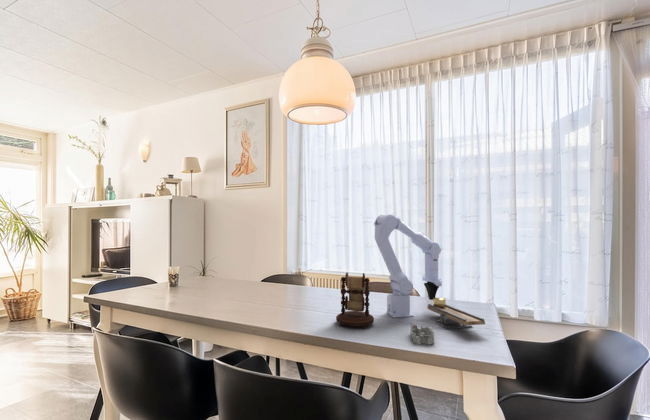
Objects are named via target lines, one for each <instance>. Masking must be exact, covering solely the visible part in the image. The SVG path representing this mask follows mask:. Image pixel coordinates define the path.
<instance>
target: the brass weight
mask: <svg viewBox="0 0 650 420" xmlns="http://www.w3.org/2000/svg"><path fill="white" fill-rule="evenodd" d="M446 300H447V299H446V298H444V297H435V298H433V300H432V305H433V306H435V307H438V308H446V305H447V303H446Z"/></svg>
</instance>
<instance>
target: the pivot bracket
mask: <svg viewBox="0 0 650 420" xmlns="http://www.w3.org/2000/svg"><path fill="white" fill-rule="evenodd" d="M439 316H440V317H439V319H435V320H434V322H435V323H436V324H437V325H439V326H440V327H442V328H443V329H445V330H448V329H470V328H473V325H462V324H460V323H458V322H455V321H453V320H451V319H449V318H447V317H445V316H444V314H443V313H440V314H439ZM445 318H446V319H445Z"/></svg>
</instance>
